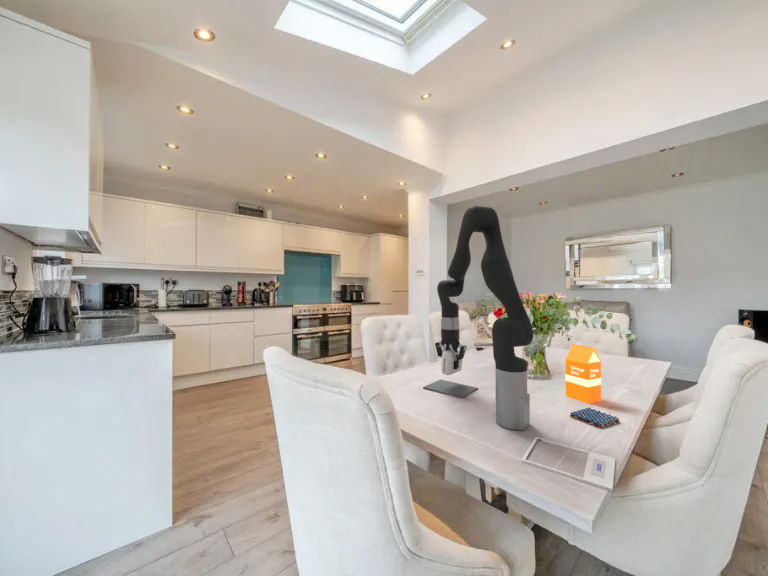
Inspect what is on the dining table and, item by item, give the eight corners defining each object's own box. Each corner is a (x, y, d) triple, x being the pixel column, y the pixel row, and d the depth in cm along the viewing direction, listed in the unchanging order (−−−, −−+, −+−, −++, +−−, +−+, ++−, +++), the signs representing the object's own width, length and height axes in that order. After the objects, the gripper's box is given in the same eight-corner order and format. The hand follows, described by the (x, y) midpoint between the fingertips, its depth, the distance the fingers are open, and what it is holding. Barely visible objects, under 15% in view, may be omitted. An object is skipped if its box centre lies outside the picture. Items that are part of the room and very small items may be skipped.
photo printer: (454, 346, 137) (440, 350, 127) (463, 348, 134) (449, 352, 125) (453, 369, 137) (438, 375, 128) (462, 371, 134) (447, 378, 125)
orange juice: (588, 403, 113) (587, 348, 113) (565, 396, 121) (565, 344, 121) (601, 400, 116) (601, 347, 116) (578, 393, 124) (578, 343, 124)
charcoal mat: (477, 389, 130) (477, 387, 130) (462, 398, 119) (462, 396, 119) (440, 380, 142) (440, 379, 142) (423, 388, 131) (423, 387, 131)
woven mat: (567, 418, 102) (567, 412, 102) (587, 412, 107) (587, 406, 107) (601, 431, 93) (601, 424, 93) (621, 424, 97) (621, 417, 97)
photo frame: (612, 488, 65) (521, 458, 76) (612, 493, 65) (521, 463, 76) (615, 457, 76) (535, 436, 88) (615, 462, 76) (535, 440, 88)
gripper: (470, 328, 128) (470, 369, 128) (440, 325, 138) (440, 363, 138) (461, 330, 123) (461, 373, 123) (430, 327, 132) (431, 367, 132)
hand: (450, 368), depth 130 cm, fingers closed on photo printer, 4 cm apart
